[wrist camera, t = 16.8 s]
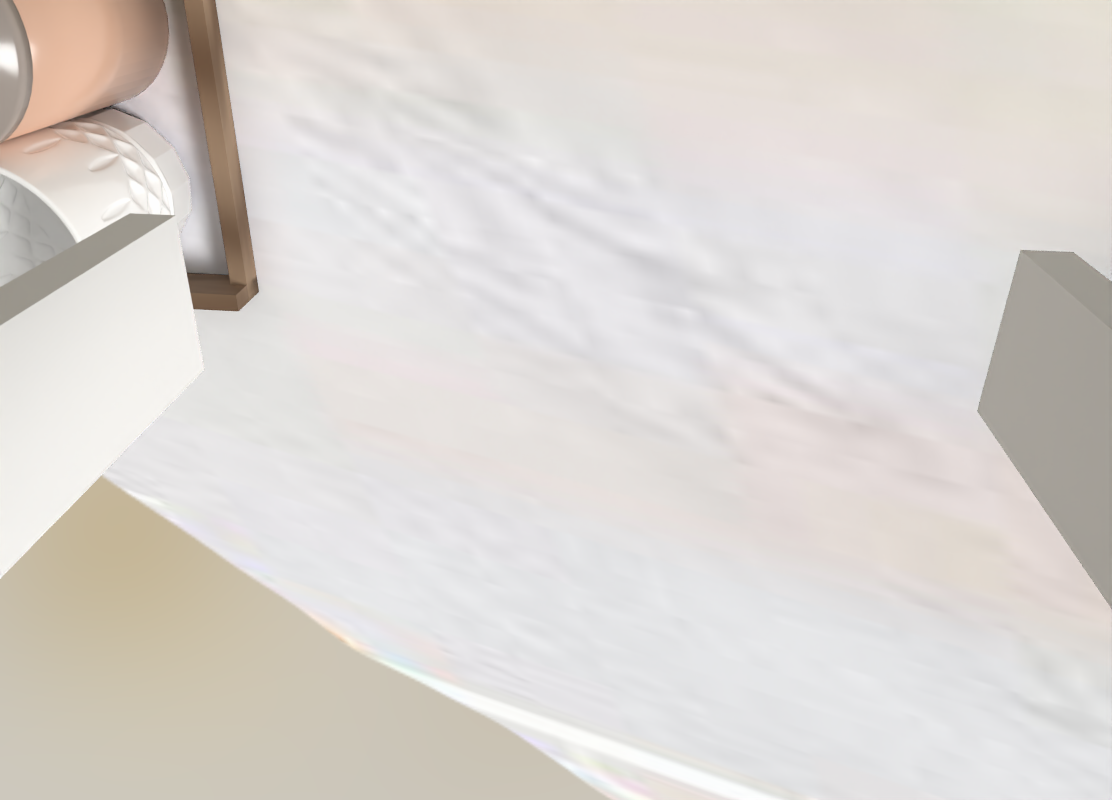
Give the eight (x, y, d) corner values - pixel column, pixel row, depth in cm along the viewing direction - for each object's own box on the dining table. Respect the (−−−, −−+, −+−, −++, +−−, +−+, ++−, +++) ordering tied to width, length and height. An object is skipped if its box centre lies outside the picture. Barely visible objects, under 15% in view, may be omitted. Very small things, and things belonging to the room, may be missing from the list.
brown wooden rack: (-129, -306, 34) (-300, -356, 28) (169, -306, 33) (60, -357, 27) (32, 281, 45) (-65, 338, 39) (258, 291, 44) (196, 351, 38)
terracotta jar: (-28, -96, 37) (-261, -104, 27) (156, -85, 37) (-15, -90, 27) (16, 101, 41) (-176, 154, 31) (184, 113, 40) (41, 170, 31)
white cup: (72, 263, 44) (-64, 359, 36) (11, 98, 40) (-159, 162, 32) (225, 257, 43) (122, 354, 35) (178, 88, 39) (49, 151, 31)
